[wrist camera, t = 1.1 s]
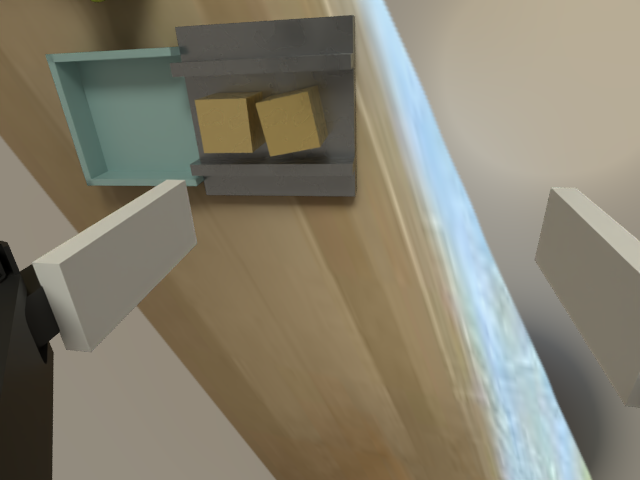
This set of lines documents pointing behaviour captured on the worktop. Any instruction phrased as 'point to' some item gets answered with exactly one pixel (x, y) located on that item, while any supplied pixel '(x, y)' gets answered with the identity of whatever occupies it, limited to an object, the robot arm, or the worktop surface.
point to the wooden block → (230, 122)
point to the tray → (127, 115)
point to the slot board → (275, 78)
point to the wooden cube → (293, 121)
